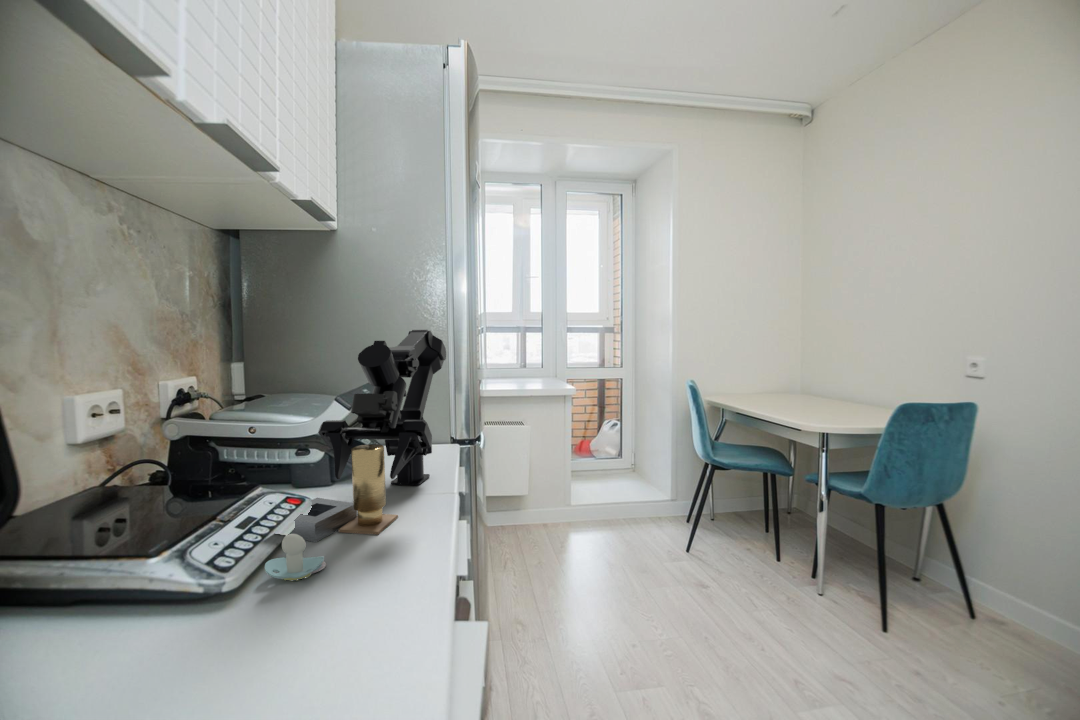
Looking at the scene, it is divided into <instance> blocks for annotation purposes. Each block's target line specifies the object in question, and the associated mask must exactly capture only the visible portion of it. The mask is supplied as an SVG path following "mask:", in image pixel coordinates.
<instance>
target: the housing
mask: <svg viewBox="0 0 1080 720" xmlns="http://www.w3.org/2000/svg"><path fill="white" fill-rule="evenodd" d="M310 500H311V501H312V505H311V506H312V508H311V510H310V512H309V513H308V515H303V514H300V515H299V516H298V517H297V518H296V519H295V520H294V521H295V528H294V530H293V531H292V533H291V534H297V535H300V536H301V537H302V538H303V539H304V540H305V541H308V542H312V543H317V542H319V541H321V540H322V539H325V538H326V537H328V536H330V535H332V534H333V533H336V532H339V529H340V528H341V527H343V526H344V525H345V524H347V523H348V522H349V521H351V520H353V519H355V518H357V516H358V511H356V510H354V507H353V502H349V501H342V500H336V499H329V498H324V497H323V498H322V497H315V498H313V499H310Z"/></svg>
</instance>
